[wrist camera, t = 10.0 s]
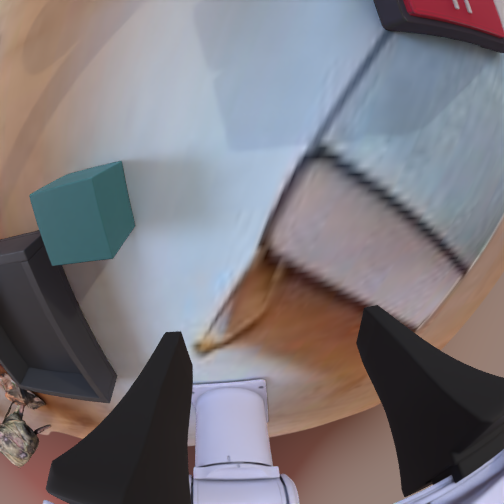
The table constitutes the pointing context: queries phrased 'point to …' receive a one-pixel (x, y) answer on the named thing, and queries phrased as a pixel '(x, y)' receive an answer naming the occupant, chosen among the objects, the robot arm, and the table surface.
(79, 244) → the block
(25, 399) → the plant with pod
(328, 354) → the table surface
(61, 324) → the tub
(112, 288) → the table surface
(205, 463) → the robot arm
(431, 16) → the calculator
